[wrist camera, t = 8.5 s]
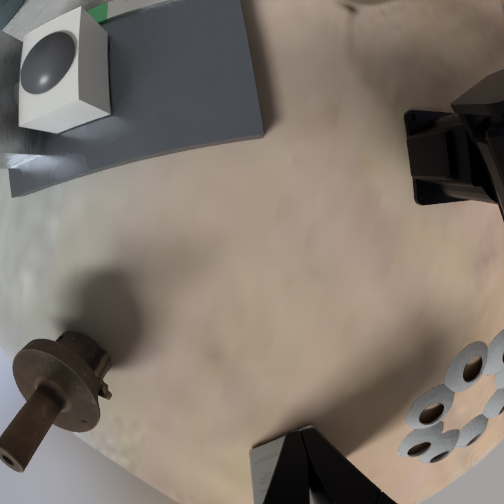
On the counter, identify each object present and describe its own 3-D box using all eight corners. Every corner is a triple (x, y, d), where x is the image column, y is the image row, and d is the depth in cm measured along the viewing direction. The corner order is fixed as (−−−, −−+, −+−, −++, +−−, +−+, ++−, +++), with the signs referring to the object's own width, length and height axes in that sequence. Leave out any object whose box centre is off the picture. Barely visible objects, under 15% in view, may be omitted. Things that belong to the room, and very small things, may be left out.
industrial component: (42, 366, 20) (-28, 452, 9) (46, 299, 19) (-57, 380, 7) (136, 412, 22) (95, 526, 10) (153, 349, 20) (95, 482, 9)
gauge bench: (235, -15, 14) (234, -85, 7) (262, 138, 17) (277, 109, 10) (20, 56, 14) (-37, 30, 7) (24, 196, 17) (-48, 208, 10)
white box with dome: (108, 6, 13) (83, -23, 9) (110, 114, 15) (76, 98, 11) (41, 36, 13) (10, 17, 9) (39, 140, 15) (-1, 135, 11)
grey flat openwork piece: (377, 402, 23) (385, 416, 21) (523, 290, 21) (535, 296, 19) (407, 478, 27) (412, 488, 25) (517, 397, 26) (525, 404, 24)
